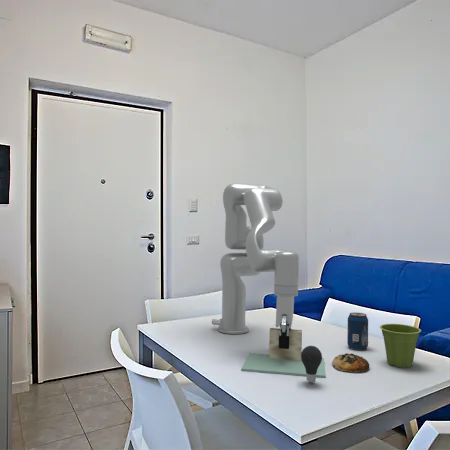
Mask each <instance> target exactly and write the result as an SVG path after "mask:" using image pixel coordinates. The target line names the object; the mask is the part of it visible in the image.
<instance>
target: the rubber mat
mask: <svg viewBox="0 0 450 450" xmlns="http://www.w3.org/2000/svg"><path fill="white" fill-rule="evenodd" d="M240 371H242V372H253V373H262V374H263V373H264V374H276V375H287V376H297V377H298V376H299V377H307V374H306V369H305V366H304V364H303V363H302V360H301V361H297V360H285V359H272V358H269V353H257V352H248V354H247V357H246V359H245V360H244V362H243V365H242V366H241V370H240ZM326 376H327V373H326V364H325V358H324V357H322V361H321V364H320V365H319V367H318V369H317V373H316V378H321V379H323V378H325V379H326V378H327V377H326Z"/></svg>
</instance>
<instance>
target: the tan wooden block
mask: <svg viewBox="0 0 450 450" xmlns="http://www.w3.org/2000/svg"><path fill="white" fill-rule="evenodd" d="M279 333H280V327H279V328H277V327H270V328H269V344H268V345H269V347H268V348H269V351H268V354H269V358H272V359H285V360H297V361H301V353H302V351H303V349H302V348H303V347H302V345H303V340H302V338H303V329H296V328H295V329H293V328H291V329H289V349H281V348H279Z"/></svg>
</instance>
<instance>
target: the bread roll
mask: <svg viewBox="0 0 450 450" xmlns="http://www.w3.org/2000/svg"><path fill="white" fill-rule="evenodd" d="M331 363H332V365H333V367H334V368H335V369H338V370H339V371H340V372H344V373H359V374H360V373H364V372H367V371H368V370H369V369H370V363H369V361H368V360H367V359H366V358H364V357H363V356H360V355H357V354H354V353H347V352H346V353H343V354H338V355H336V356H335V357H334V358H333V359H332V362H331Z"/></svg>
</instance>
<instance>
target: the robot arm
mask: <svg viewBox="0 0 450 450" xmlns="http://www.w3.org/2000/svg"><path fill="white" fill-rule="evenodd" d="M222 193H223V194H222V202H223V203H222V204H223V208H224V213H225V228H224V242H225V246H226V248H228V249H229V250H236V251H237V250H239V251H240V250H243V251H244V250H245V252H229V253H226V254H224V255H222V257H221V258H220V265H219V266H220V271H221V278H222V279H221V280H222V286H221V287H222V288H221V291H222V292H221V295H222V298H221V301H222V302H221V318H219V319H216V318H215V319H214V318H212V319H211V325H213V326H217V325H218V327H217V331H219V332H220V333H222V334H227V335H242V334H246V333H249V330H250V327H249V326H247V325H246V300H247V299H246V297H247V296H246V293H247V292H246V291H247V289H246V285H245V283H244V281H243V280H242V278H241V277H253V276H258V275H260V274H261V273H269V272H273V273H274V283H273V284H274V285H273V287H274V288H273V295H274V296H277V297H276V307H275V308H276V310H275V311H276V312H275V328H278V327H279V329H280V333H279V348H281V349H289V329H292V327H293V326H292V325H293V321H294V307H295V306H294V305H295V297H298V296H299V264H300V263H299V262H300V261H299V260H300V257H299V254H298V253H297V252H296V251H291V250H287V249H283V248H280V249H279V248H276V249H275V248H264V239H265V238H264V234H266V233H268V232H269V231H271V230H272V229H273V228H274V227H275V225H276V219H275V217H274V214H273V212H277V211H279V210H281V208H282V206H283V203H284V202H283V196H282V193H281V192H280V190H278V189H276V188H274V187H271V186H267V185H264V184H256V183H255V184H254V183H252V184H251V183H230V184H228V185H227V186H226V187H224V190H223V192H222ZM242 206H245V208H246V211H245V209H244V208H243V207H242ZM247 216H248V218H249V223H250V225H251V226H247V220H248V219H247Z"/></svg>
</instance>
